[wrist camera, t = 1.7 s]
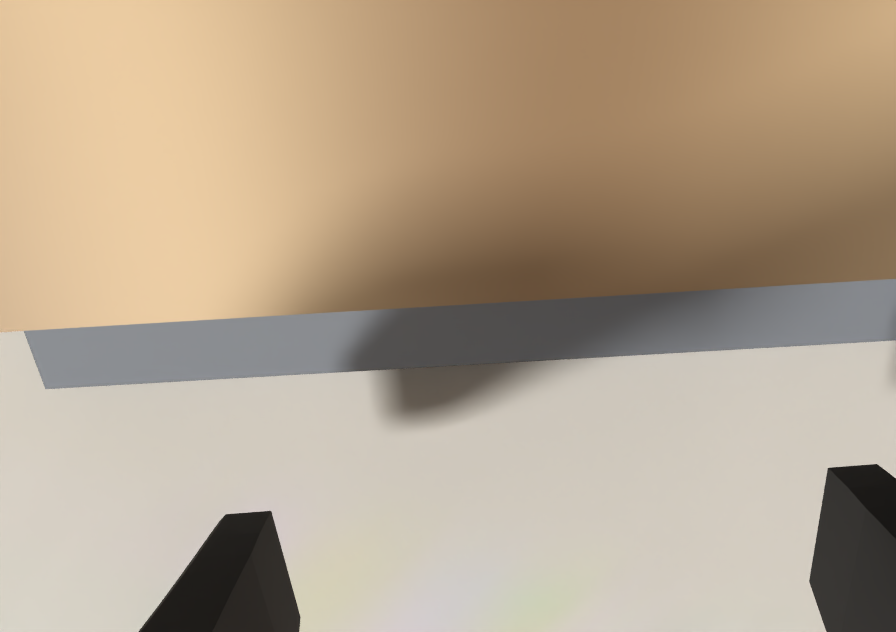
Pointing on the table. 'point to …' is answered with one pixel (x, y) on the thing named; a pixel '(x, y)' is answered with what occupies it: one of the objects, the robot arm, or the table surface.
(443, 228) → the T block
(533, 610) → the table surface
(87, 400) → the table surface
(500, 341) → the T board
